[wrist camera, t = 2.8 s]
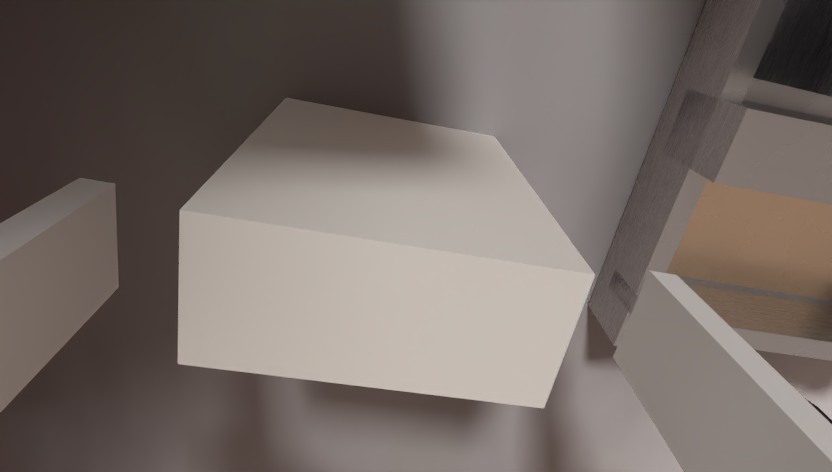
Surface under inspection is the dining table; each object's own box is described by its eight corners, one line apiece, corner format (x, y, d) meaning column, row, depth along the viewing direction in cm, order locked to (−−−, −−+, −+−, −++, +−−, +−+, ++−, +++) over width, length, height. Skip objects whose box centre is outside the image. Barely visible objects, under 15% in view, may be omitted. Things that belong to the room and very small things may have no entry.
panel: (277, 185, 21) (177, 364, 11) (285, 97, 19) (179, 209, 10) (473, 218, 22) (543, 408, 12) (494, 136, 20) (595, 275, 11)
